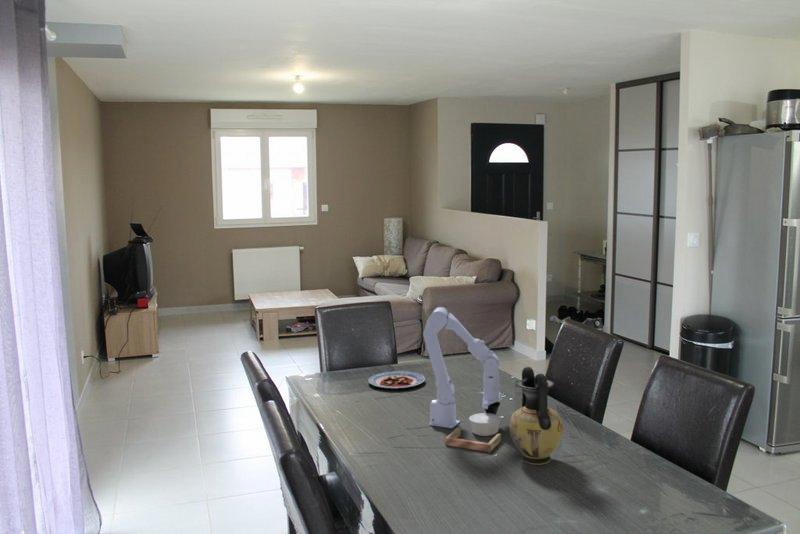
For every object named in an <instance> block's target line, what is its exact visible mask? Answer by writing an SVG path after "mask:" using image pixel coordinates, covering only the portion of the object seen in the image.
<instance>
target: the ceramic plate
mask: <svg viewBox="0 0 800 534" xmlns="http://www.w3.org/2000/svg"><path fill="white" fill-rule="evenodd" d="M425 380H426V378H425V376H424V375H423V374H421V373H420V374H419V373H417V372H411V371H405V370H404V371H399V370H398V371H397V370H396V371H386V372H385V371H384V372H381V373H377V374H374V375H372V376H370V377H369V378H368V380H367V381H368V383H369V384H370V385H372V386H373V387H374V386H375V387H378V388H382V389H383V388H384V389H389V388H390V389H391V390H400V389H399V388H401V389H407V388H411V387H416V386H418V385H421V384H422V383H423V382H425Z"/></svg>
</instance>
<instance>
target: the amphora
mask: <svg viewBox="0 0 800 534" xmlns="http://www.w3.org/2000/svg"><path fill="white" fill-rule="evenodd" d="M517 385H518V386H519V387H520V388H522V408H520V409H518V410H516V411H515V410H514V412H513V413H512V415H511V417H510V421H509V433H510V436H511V439H512V443H513V445H514V446H515V447H516V449H517V451H519V452H520V453H521V454H522V461H523V462H525V463H527V464H529V465H535V466H537V465H538V466H540V465H541V466H542V465H546V464H549V463H550V462H551V460H552V457H551V455H552V454H553V453H554V452H555V451H556V450H557V448H558V447H559V446H560V443H561V440H562V437H563V431H564V429H563V428H564V427H563V420H562V418H561V416H560V414H559V413H558V412H557V411H556V410H554V409H553V408H551V407H549V406H548V398H549V397H548V395H549V394H548V393H549V391H550V389H551V388H553V387H554V385H555V383H554V382H553V381H551V380H550V379H549V380H548V379H547V377H546V376H545V374H544V373H537V374H536V375H535V372H534V370H533V368H532V367H531V366H527V367H524V368H523V369H522V372H521V380H519V382H518V383H517Z"/></svg>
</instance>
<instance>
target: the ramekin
mask: <svg viewBox="0 0 800 534" xmlns="http://www.w3.org/2000/svg"><path fill="white" fill-rule="evenodd" d="M468 421H469V424H470V429H471V431H472V433H473V434H475V435H476V436H482V437H489V436H493V435H497V434H498V432H499V428H500V423H501V417H500V416H499V415H497V414H491V413H486V412H481V413H475V414H471V415H470V416H469V418H468Z"/></svg>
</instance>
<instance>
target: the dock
mask: <svg viewBox="0 0 800 534" xmlns="http://www.w3.org/2000/svg"><path fill="white" fill-rule="evenodd" d="M461 431H462V428H461V427H456V428H455V429H454V430H452V432H450V433H449V434H448V435H447V436H446V437H444V441H445V443H444V444H445V446H450V447H457V448H460V449H461V448H463V449H469V450H475V451H479V452H486V453H491V451H493V450H494V449H495V448H496V447H497V446H498V444H500V442H501V441H502V433H496V434H495V436H494V437H493V438H491V440H489V442H481V441H475V440H469V439H465V438H464V439H463V438H460V436H461V435H462V433H461Z"/></svg>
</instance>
